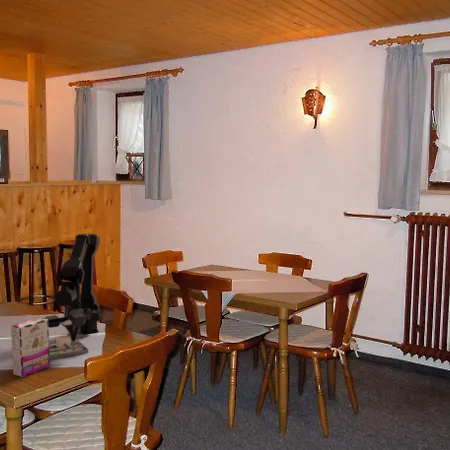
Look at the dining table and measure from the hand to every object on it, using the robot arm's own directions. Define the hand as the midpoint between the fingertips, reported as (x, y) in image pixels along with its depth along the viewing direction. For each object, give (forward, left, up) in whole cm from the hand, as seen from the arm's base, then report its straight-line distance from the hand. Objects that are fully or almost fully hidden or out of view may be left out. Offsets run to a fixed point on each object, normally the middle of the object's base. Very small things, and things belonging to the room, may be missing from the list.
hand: (73, 341), depth 197 cm
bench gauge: (+6, 0, -3) cm, 7 cm away
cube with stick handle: (+4, +2, -2) cm, 4 cm away
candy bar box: (+18, +14, -3) cm, 23 cm away
